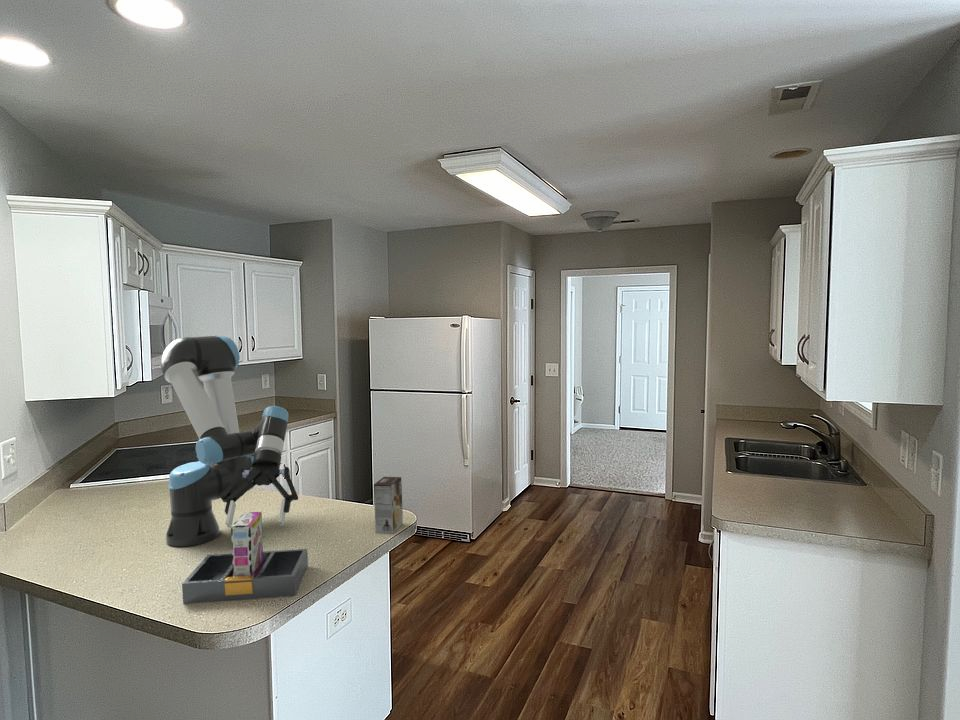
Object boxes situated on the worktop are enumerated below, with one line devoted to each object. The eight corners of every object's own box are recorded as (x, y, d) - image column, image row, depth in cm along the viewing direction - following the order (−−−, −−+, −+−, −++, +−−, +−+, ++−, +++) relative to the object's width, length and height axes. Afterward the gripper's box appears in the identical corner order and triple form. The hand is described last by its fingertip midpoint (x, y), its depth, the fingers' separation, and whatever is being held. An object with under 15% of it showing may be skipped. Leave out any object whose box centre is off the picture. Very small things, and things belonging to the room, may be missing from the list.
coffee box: (385, 522, 190) (383, 475, 189) (403, 523, 189) (402, 476, 188) (374, 532, 181) (373, 483, 180) (393, 534, 180) (392, 484, 179)
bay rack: (182, 604, 137) (181, 583, 137) (208, 572, 154) (207, 553, 154) (294, 596, 140) (293, 575, 140) (308, 566, 157) (307, 547, 157)
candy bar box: (253, 589, 142) (250, 525, 141) (232, 590, 142) (229, 526, 140) (265, 569, 153) (262, 510, 152) (245, 571, 153) (242, 511, 151)
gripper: (314, 459, 168) (304, 528, 155) (227, 462, 166) (210, 531, 152) (309, 447, 162) (299, 516, 149) (219, 449, 160) (201, 520, 147)
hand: (254, 524), depth 151 cm, fingers open, 13 cm apart
